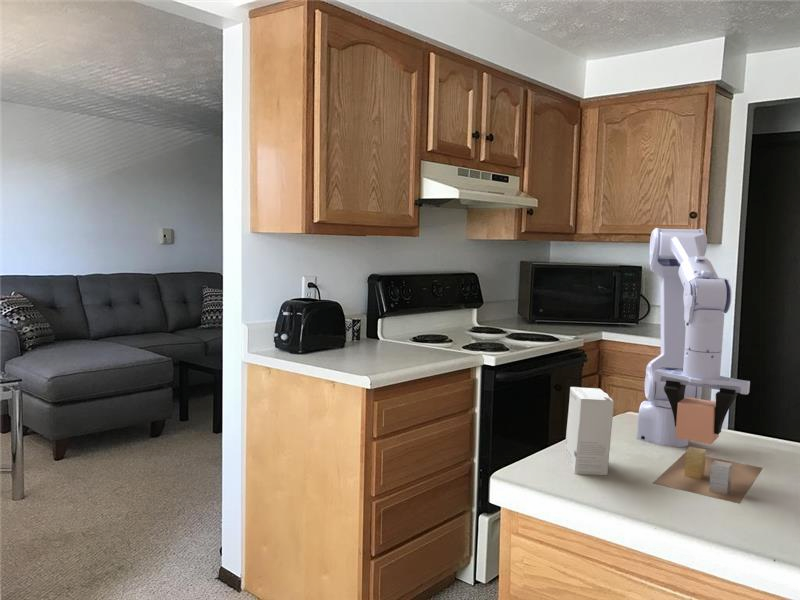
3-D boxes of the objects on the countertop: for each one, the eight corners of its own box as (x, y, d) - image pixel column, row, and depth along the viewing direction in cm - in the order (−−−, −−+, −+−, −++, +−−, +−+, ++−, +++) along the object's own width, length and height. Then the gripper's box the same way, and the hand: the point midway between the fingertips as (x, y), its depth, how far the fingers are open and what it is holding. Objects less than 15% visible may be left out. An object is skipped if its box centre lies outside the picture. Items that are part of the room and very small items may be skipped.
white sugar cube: (709, 491, 107) (711, 464, 106) (712, 486, 109) (714, 460, 109) (726, 495, 105) (728, 467, 105) (730, 490, 107) (732, 463, 107)
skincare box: (563, 466, 122) (567, 386, 120) (596, 467, 122) (600, 386, 120) (574, 483, 113) (579, 397, 112) (610, 484, 113) (615, 398, 112)
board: (651, 491, 110) (652, 482, 110) (685, 460, 127) (685, 452, 127) (738, 512, 102) (739, 503, 102) (761, 475, 119) (762, 467, 119)
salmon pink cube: (675, 437, 113) (677, 402, 112) (684, 430, 117) (686, 397, 117) (711, 444, 110) (713, 408, 109) (718, 436, 114) (721, 402, 114)
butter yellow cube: (684, 475, 114) (686, 450, 113) (688, 471, 116) (689, 446, 115) (700, 479, 112) (702, 453, 112) (704, 475, 114) (706, 449, 114)
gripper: (651, 347, 113) (646, 425, 114) (746, 358, 105) (740, 443, 106) (663, 342, 119) (658, 417, 120) (754, 353, 110) (748, 433, 111)
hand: (697, 429), depth 113 cm, fingers closed on salmon pink cube, 6 cm apart
